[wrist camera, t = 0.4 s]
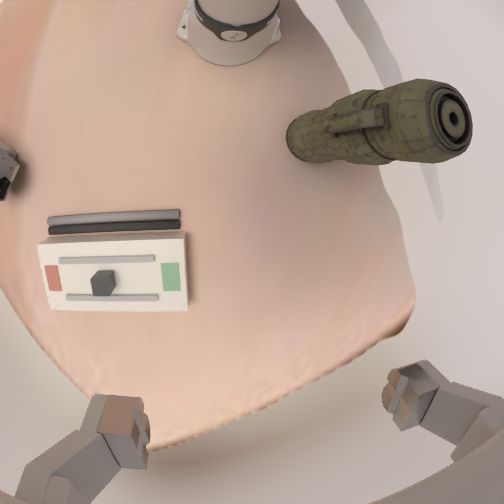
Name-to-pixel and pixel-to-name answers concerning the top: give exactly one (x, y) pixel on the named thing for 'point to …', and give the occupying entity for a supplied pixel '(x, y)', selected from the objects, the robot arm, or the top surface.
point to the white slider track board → (117, 271)
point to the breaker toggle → (103, 283)
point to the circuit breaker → (7, 168)
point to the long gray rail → (116, 225)
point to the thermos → (386, 126)
